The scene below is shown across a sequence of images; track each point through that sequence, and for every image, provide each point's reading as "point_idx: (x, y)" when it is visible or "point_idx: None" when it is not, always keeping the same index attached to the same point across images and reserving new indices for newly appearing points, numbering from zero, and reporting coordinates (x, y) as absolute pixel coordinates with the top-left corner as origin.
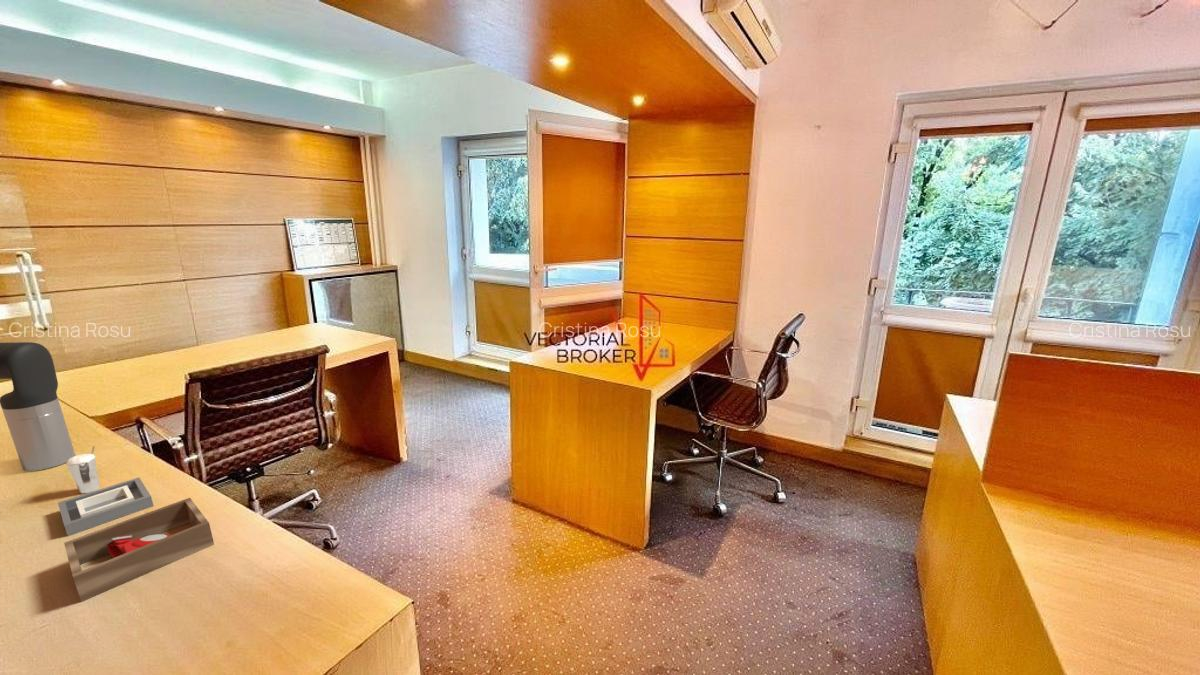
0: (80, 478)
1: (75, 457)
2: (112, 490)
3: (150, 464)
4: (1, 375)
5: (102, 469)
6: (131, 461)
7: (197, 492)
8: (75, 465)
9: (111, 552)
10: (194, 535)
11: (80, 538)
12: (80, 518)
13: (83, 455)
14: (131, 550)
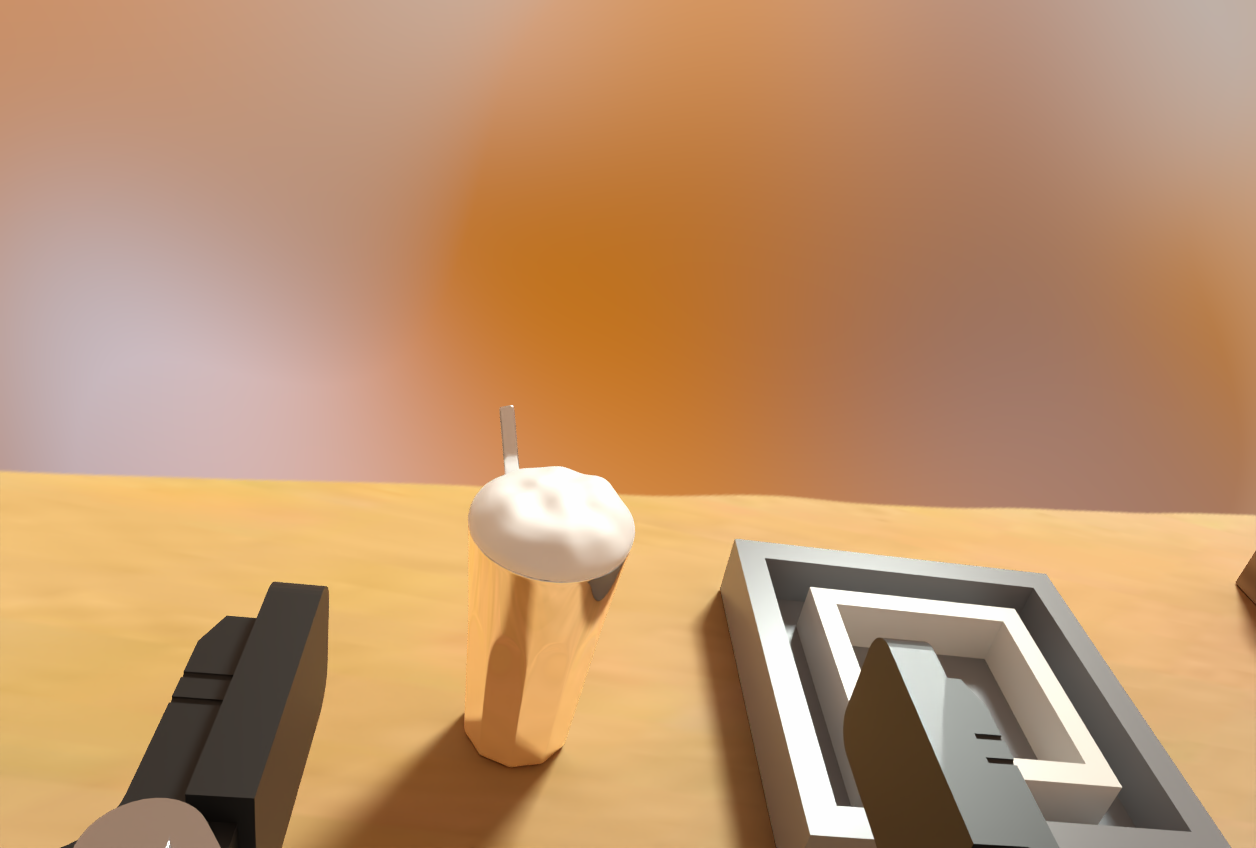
0: (588, 655)
1: (565, 507)
2: (838, 634)
3: (411, 501)
4: None
5: (178, 621)
6: (235, 524)
7: (977, 517)
8: (623, 562)
9: None
10: None
11: None
12: (1172, 795)
13: (559, 482)
14: None
